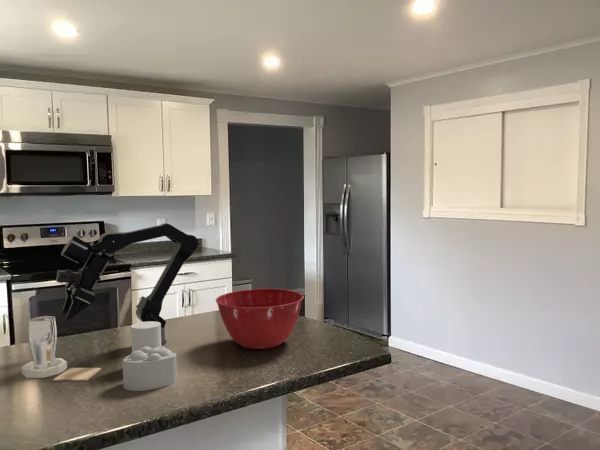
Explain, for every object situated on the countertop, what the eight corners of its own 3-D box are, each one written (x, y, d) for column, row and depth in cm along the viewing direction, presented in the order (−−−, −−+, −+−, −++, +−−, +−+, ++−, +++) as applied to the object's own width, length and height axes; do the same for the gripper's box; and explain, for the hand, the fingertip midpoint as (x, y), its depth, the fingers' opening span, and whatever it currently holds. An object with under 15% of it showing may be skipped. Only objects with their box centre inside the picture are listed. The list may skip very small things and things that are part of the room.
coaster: (101, 369, 145) (101, 367, 145) (86, 380, 136) (86, 379, 136) (70, 369, 146) (70, 367, 146) (53, 380, 137) (53, 379, 137)
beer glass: (63, 367, 148) (61, 315, 147) (49, 375, 141) (46, 321, 140) (40, 366, 148) (38, 315, 147) (25, 375, 141) (22, 321, 140)
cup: (167, 362, 150) (166, 322, 149) (151, 372, 142) (149, 329, 141) (144, 360, 152) (142, 320, 152) (126, 369, 145) (124, 327, 144)
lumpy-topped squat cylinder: (180, 383, 133) (179, 350, 133) (130, 394, 126) (128, 360, 126) (166, 372, 142) (165, 341, 141) (118, 382, 135) (117, 350, 134)
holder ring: (72, 364, 149) (72, 358, 149) (53, 377, 139) (53, 370, 139) (37, 365, 150) (36, 358, 150) (15, 378, 139) (14, 370, 139)
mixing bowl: (286, 360, 150) (285, 308, 149) (200, 352, 159) (199, 303, 158) (315, 334, 176) (314, 290, 176) (239, 329, 186) (238, 287, 185)
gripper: (63, 255, 161) (36, 300, 158) (72, 261, 146) (42, 311, 142) (96, 271, 167) (70, 314, 163) (107, 278, 151) (79, 327, 147)
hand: (65, 316), depth 154 cm, fingers open, 9 cm apart
